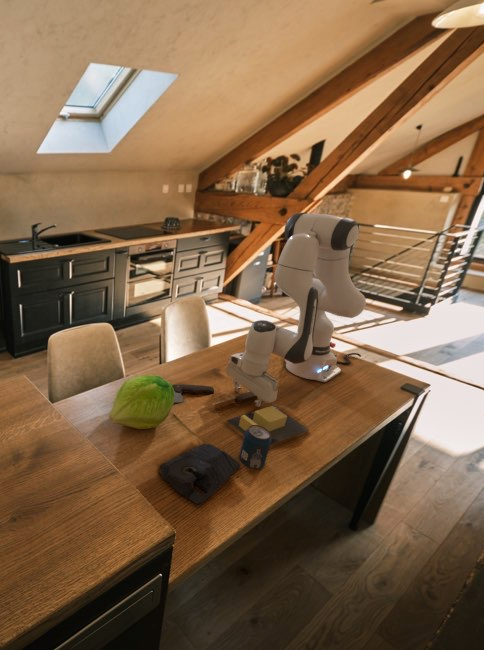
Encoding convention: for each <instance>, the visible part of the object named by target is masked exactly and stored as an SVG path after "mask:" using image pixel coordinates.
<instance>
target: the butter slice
mask: <svg viewBox="0 0 484 650" xmlns="http://www.w3.org/2000/svg"><path fill="white" fill-rule="evenodd" d="M240 416H241V418H240V422H239V426H240V427H241V428H242V429H243V430H245V431H246V430H247V429H248V428H249V427H250V426H251V425H257V424H256V423H255V422H253V421H252V420H251V419H249V418H248V417H247V416H246V415H245V414H242V415H240Z"/></svg>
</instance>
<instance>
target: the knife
mask: <svg viewBox="0 0 484 650" xmlns="http://www.w3.org/2000/svg"><path fill="white" fill-rule="evenodd" d="M253 400H258V396H256V395H255V394H253V393H252V392H251V391H249V392H246V393H242V394H239V395H235V396H234V397H232V398H229V399H224V400H221V401H219V402H215V403H214V408H213V409H219V408H222V407H226V406H229V405H233V404H236V403H237V404H240V405H241V404H243V403H246V402H250V401H253Z"/></svg>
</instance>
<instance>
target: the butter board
mask: <svg viewBox="0 0 484 650" xmlns="http://www.w3.org/2000/svg"><path fill="white" fill-rule="evenodd" d="M244 415H246V416H247V417H248V418H249V419H251V420H252V421H253V422H255V423H256V424H257V425H259V426H262V427H264V428H266V429H267V430H268V431H269V432H270V437H271V444H270V446H271V445H274V444H276V443H278V442H281V441H284V440H287V439H289V438H292V437H295V436H297V435H300V434H303V433H305V432H308V431H309V428H307V427H306V426H305V425H303V424H302V423H300V422H299V421H298V420H295V419H294V418H293V417H291V416H290V415H289V414H287V413H286V412H284V411H283V410H282V409H280V408H279V407H278V406H276V405H274V404H273V405H270V406H266V407H263V408H260V409H257V410H254V411H252V412H249V413H245V414H244ZM241 416H242V415H238V416H236V417H232V418H230V419H227V420H226V422H228V423H229V424H230V425H231V426H232V427H234V429H236V430H237V431H238V432H239V433H240V434H242V435H243V436H244V435H245V430H243V429H242V428H241V427H240V426H239V422H240V418H241Z"/></svg>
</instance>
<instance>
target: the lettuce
mask: <svg viewBox="0 0 484 650" xmlns="http://www.w3.org/2000/svg"><path fill="white" fill-rule="evenodd" d="M172 385H173V384H171V382H169V381H168V380H167V379H165V378H163V377H161V376H160V375H157V374H145V375H138V376H134V377H132V378H131V377H130V378H129V379H127V380H126V381H124V382H123V383H122V385H121V386H120V387H119V389H118V391H117V392H116V394H115V397H114V399H113V403H112V407H111V409H110V412H109V414H108V417H109V421H110V422H111V423H113V424H116V425H123V426H126V427H129V428H133V429H137V430H147V429H152V428H155V427H158V426H160V425H161V424H162V423H163V422H165V420H166V419H167V418H168V416H169V414H170V412H171V410H172V408H173V406H174V405H175V403H174V394H175V392H174V389H173V387H172Z"/></svg>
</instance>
